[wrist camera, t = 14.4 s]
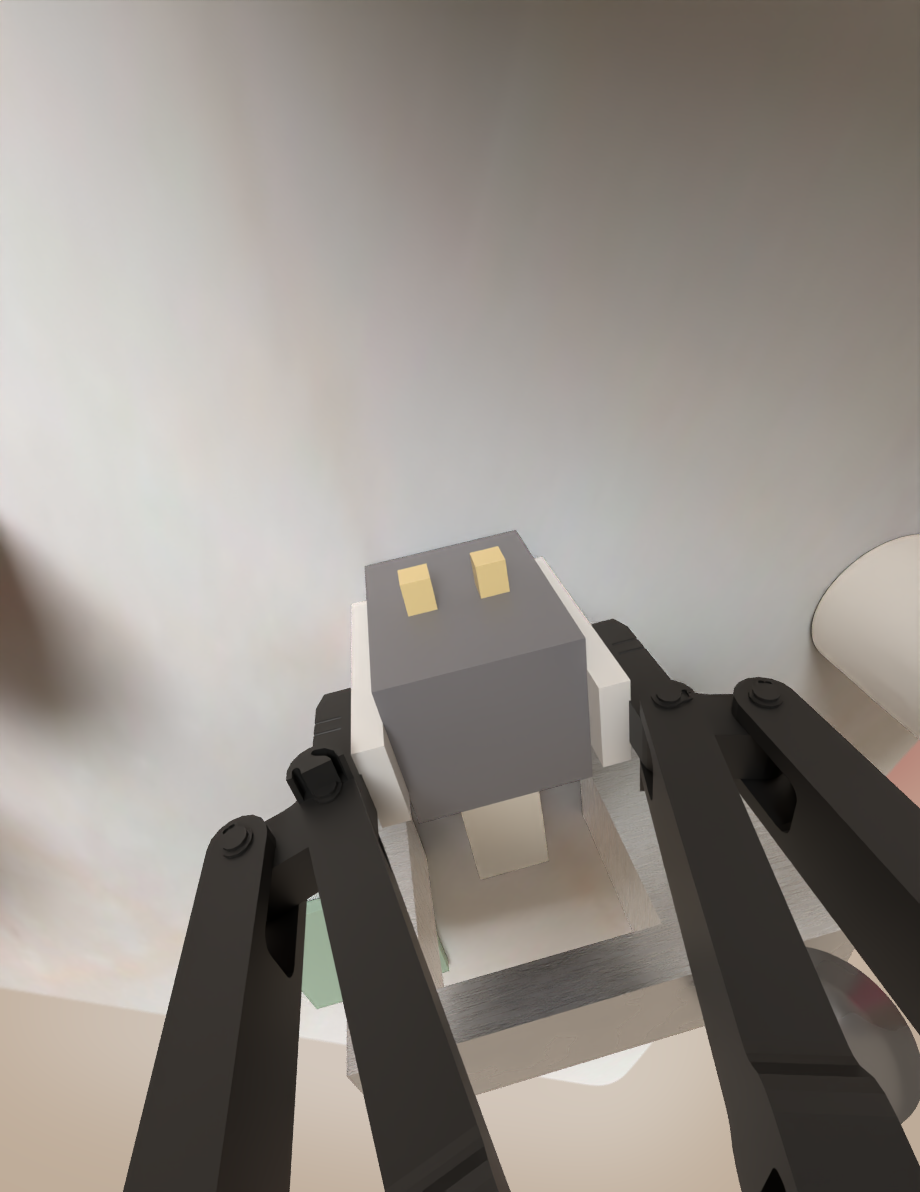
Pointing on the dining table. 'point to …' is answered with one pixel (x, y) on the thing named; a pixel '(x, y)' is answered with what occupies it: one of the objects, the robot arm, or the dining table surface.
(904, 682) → the mug
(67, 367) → the dining table surface
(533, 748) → the plug
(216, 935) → the robot arm
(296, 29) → the dining table surface
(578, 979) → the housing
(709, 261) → the dining table surface
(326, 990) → the mat
